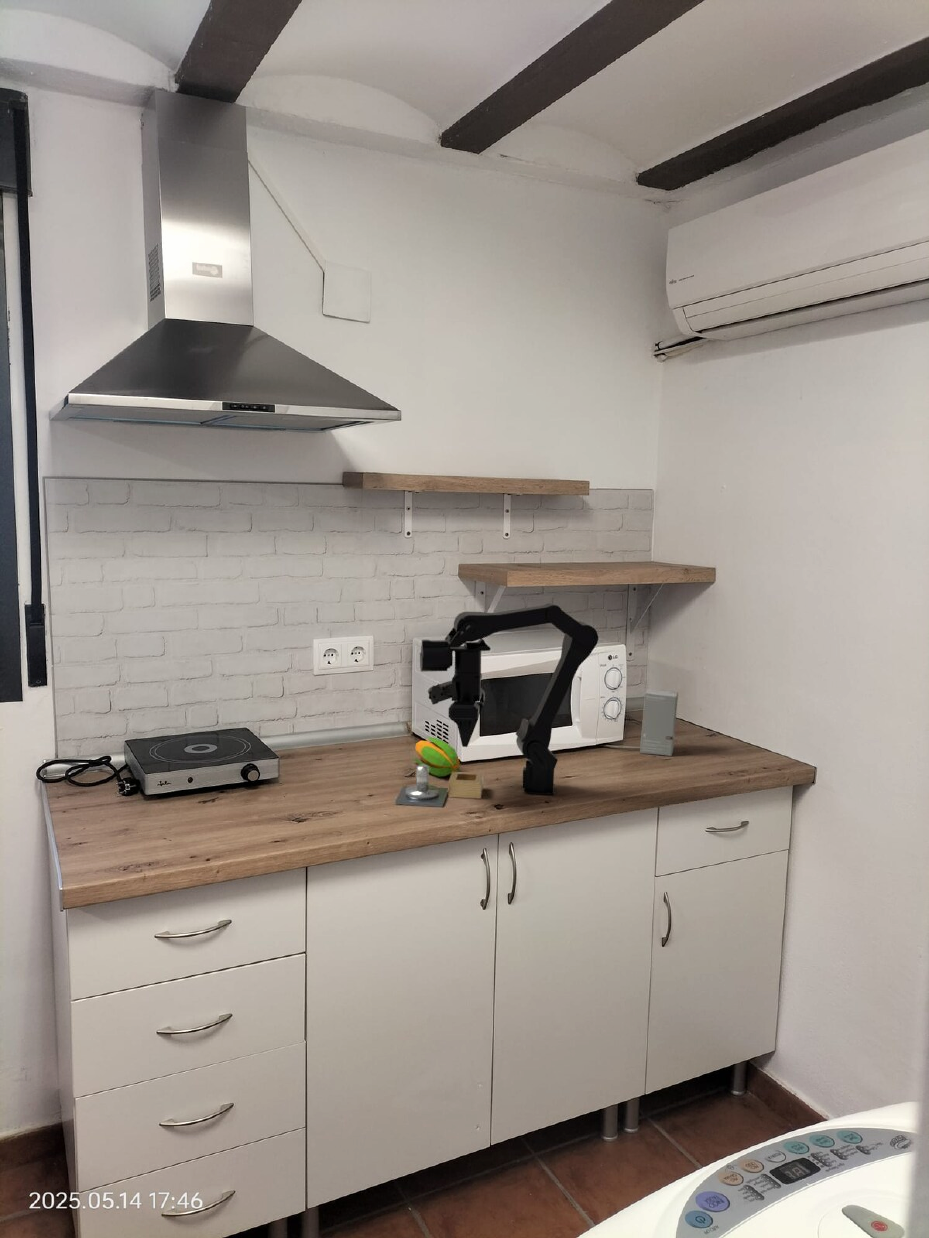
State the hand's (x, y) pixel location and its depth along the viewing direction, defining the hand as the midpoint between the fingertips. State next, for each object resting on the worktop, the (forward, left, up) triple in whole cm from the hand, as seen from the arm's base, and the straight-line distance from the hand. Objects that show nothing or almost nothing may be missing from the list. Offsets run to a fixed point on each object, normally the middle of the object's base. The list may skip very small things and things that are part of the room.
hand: (467, 740), depth 199 cm
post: (+9, +5, -12) cm, 16 cm away
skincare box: (-46, -40, -12) cm, 62 cm away
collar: (0, 0, -12) cm, 12 cm away
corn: (+9, -16, -12) cm, 22 cm away
